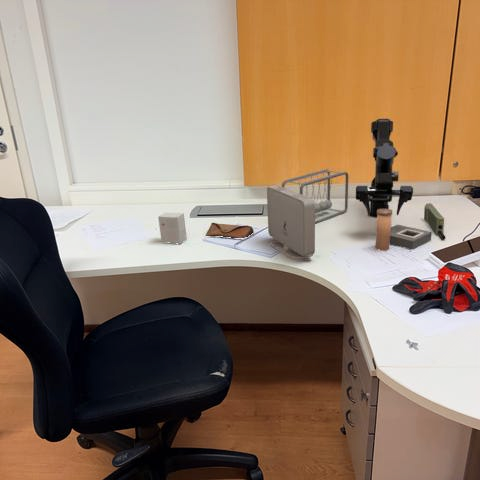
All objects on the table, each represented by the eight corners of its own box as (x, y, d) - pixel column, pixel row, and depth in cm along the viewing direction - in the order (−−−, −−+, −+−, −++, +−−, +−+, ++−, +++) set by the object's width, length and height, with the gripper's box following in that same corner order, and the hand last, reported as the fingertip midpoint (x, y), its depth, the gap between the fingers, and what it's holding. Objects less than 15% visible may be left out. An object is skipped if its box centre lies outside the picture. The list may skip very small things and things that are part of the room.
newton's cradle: (301, 229, 172) (301, 184, 166) (281, 224, 179) (280, 180, 173) (348, 212, 190) (349, 170, 184) (328, 208, 198) (328, 168, 192)
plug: (371, 247, 150) (373, 210, 145) (383, 244, 152) (385, 207, 147) (381, 251, 146) (383, 213, 141) (393, 248, 147) (395, 211, 143)
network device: (263, 240, 162) (260, 186, 155) (284, 236, 165) (283, 183, 158) (298, 264, 140) (297, 202, 133) (322, 258, 143) (322, 198, 136)
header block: (377, 240, 155) (378, 231, 154) (396, 232, 162) (397, 223, 161) (412, 249, 146) (413, 239, 145) (430, 240, 153) (431, 230, 152)
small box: (187, 239, 168) (184, 212, 164) (180, 244, 163) (177, 217, 159) (168, 238, 170) (165, 211, 167) (161, 243, 165) (157, 216, 162)
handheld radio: (432, 219, 175) (449, 241, 152) (423, 219, 176) (438, 241, 152) (433, 203, 173) (450, 222, 150) (424, 203, 173) (439, 222, 150)
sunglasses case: (202, 236, 169) (204, 219, 170) (209, 240, 176) (212, 224, 177) (246, 240, 163) (248, 223, 164) (252, 244, 169) (254, 227, 170)
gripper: (356, 162, 153) (355, 202, 146) (414, 162, 148) (415, 203, 142) (356, 180, 162) (354, 218, 156) (410, 180, 158) (411, 219, 151)
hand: (383, 214), depth 151 cm, fingers open, 9 cm apart
